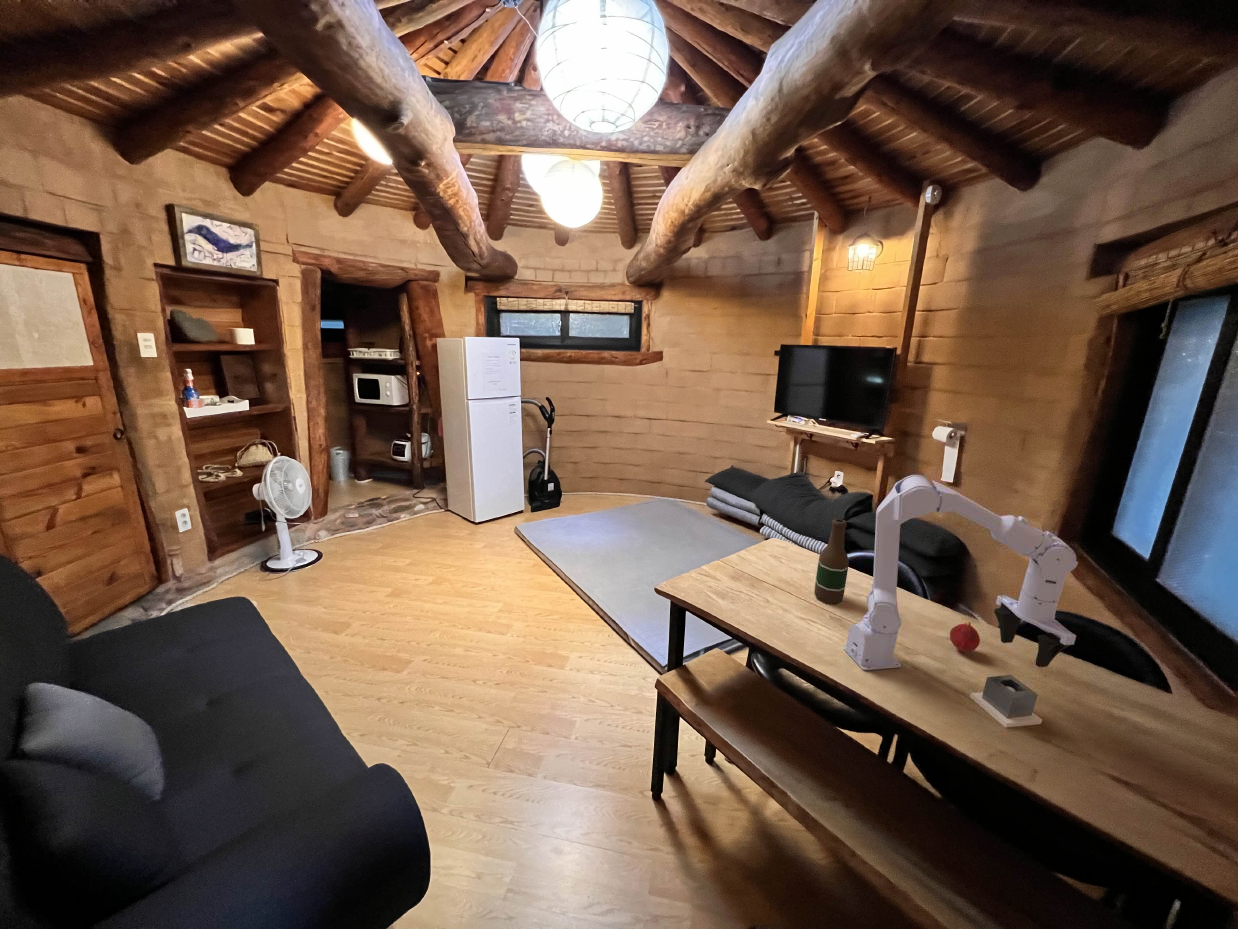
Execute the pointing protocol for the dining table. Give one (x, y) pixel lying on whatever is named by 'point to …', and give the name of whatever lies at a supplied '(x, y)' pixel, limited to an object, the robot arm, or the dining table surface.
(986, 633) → the dining table surface
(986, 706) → the post block
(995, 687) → the collar
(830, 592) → the beer bottle
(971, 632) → the onion
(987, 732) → the dining table surface
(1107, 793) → the dining table surface
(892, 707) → the dining table surface
